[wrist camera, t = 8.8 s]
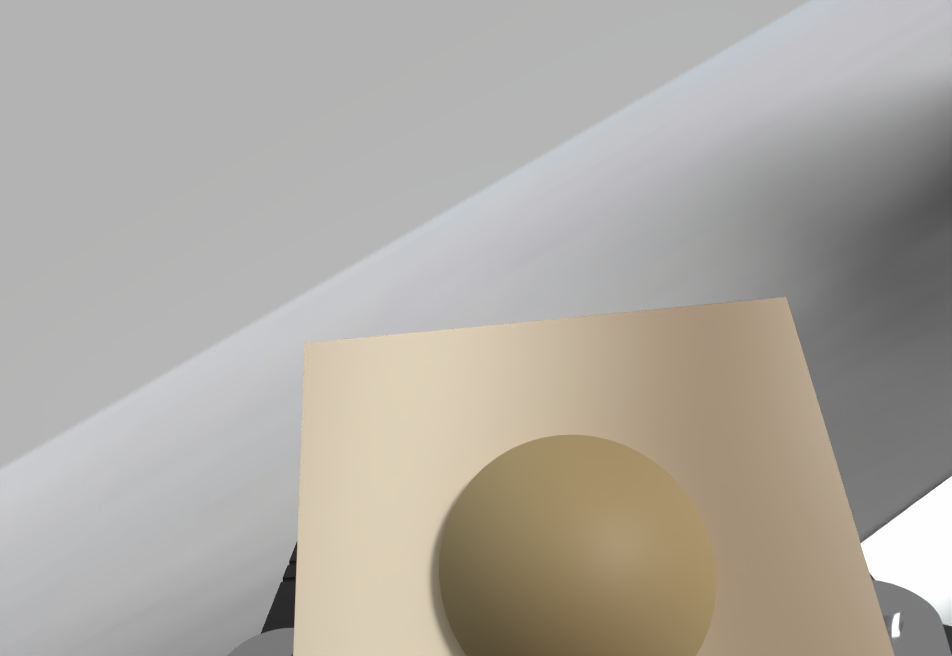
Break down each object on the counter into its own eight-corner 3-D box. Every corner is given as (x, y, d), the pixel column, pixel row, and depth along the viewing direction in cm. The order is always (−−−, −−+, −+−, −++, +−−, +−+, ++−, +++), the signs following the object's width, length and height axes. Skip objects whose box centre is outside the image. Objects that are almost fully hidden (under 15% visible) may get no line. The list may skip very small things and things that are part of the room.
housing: (436, 823, 15) (278, 944, 6) (425, 551, 17) (301, 338, 8) (705, 802, 14) (971, 892, 6) (656, 531, 17) (789, 291, 8)
